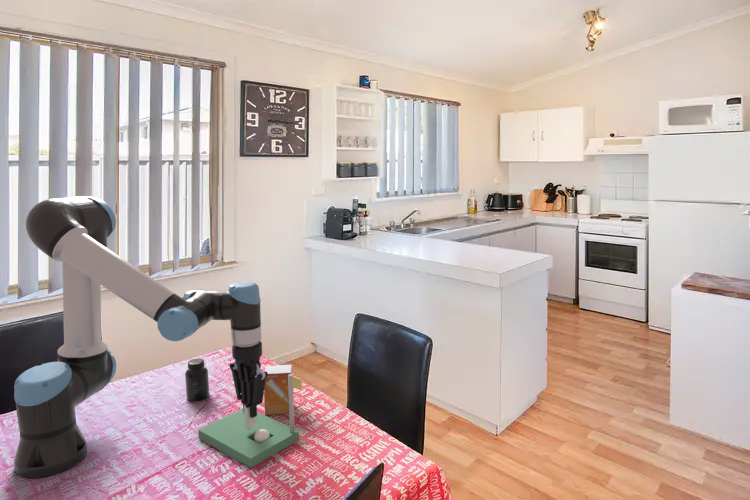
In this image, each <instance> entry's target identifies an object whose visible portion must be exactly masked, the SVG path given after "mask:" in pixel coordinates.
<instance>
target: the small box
mask: <svg viewBox="0 0 750 500" xmlns="http://www.w3.org/2000/svg"><path fill="white" fill-rule="evenodd" d="M265 371H266V372H267V373H268V376H267V377H266V379H265V387H264V394H263V401H264V415H265V416H269V415H272V416H273V415H285V414H286V415H289V385H288V375H289V374H292V375H293V364H276V365H265V366H264V371H263V372H265Z"/></svg>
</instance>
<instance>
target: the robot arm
mask: <svg viewBox="0 0 750 500" xmlns="http://www.w3.org/2000/svg"><path fill="white" fill-rule="evenodd" d="M116 221H117V220H116V215H115V213H114V211H113V208H112V207H111V206H109V204H107V202H105V201H104V199H103V200H102V199H100V198H98V197H94V196H84V195H83V196H82V195H81V196H79V195H78V196H71V197H69V196H68V197H61V198H48V199H45V200H42V201H40V202H38V203H36V204H35V205H34V206H33V207H32V208H31V210H29V212H28V214H27V217H26V220H25V229H26V230H25V231H26V232H27V235H28V237H29V239H30V241H31V242H32V244H34V245H35V247H36V248H38V249H39V250H40V251H41V252H42V253H44V254H45V255H47V256H48V257H50V258H51V259H53V260H54V261H56V262H59V263H60V262H62V269H61V270H62V302H63V303H62V305H63V306H62V308H63V313H62V314H63V344H62V345H61V346H60V347H59V348H58V349H57V361H51V362H45V363H41V365H35V366H33V367H31V368H28V369H27V370H25V371H23V372H22V373H21V374H19V375H18V377H17V378H16V379H15V382H14V385H13V387H14V392H13V393H14V394H13V399H14V402H15V409H16V417H17V423H18V431H19V443H18V446H17V449H16V454H15V458H14V461H13V465H14V472H15V474H16V475H17V476H19V477H22V478H24V479H25V478H27V479H35V478H37V479H38V478H44V477H49V476H52V475H56V474H60V473H62V472H64V471H67V470H69V469H71V468H73V467H74V466H76V465H77V464H78V463H80V462H81V461H83V459H84V458H85V457H86V456H87V454H88V444H87V443H88V442H87V441H86V438H85V437H84V435H83V433H82V432H81V429H80V428H79V425H78V424H77V418H76V407H77V406H78V405H80V404H82V403H83V402H84V401H86V400H87V399H90V397H92V396H94V395H95V394H96V393H98V392H100V391H101V390H103V389H104V388H105V387H107V385H108V384H109V383H110V382H112V380H113V379H114V377H115V375H116V372H117V361H116V357H115V356H114V355H113V354H112V351H111V350H109V348H108V345H107V344H108V343H106V342H104V341H103V340H102V301H101V300H102V298H101V296H102V291H101V290H102V287H103V288H105V289H106V290H108V291H109V292H111V293H112V294H114V295H116V296H117V297H118V298H119V299H121V300H124V302H126V303H127V304H129V305H130V306H132V307H134V308H135V309H137V310H138V311H140V312H141V313H143V314H144V315H145V316H146V317H149V318H150V319H152V320H153V321H154V322H156V323H157V325H156V326H157V330H158V332H159V333H160V334H161V337H163V338H164V340H167V341H170V342H179V341H183V340H185V339H187V338H189V337H191V336H192V335H194V333H196V332H197V331H198V330H200V329H201V328H202V327H204V326H205V325H207V324H208V323H209V322H211V321H230V322H229V323H230V336H231V337H230V340H231V344H232V345H231V352H232V353H231V354H232V358H233V359H234V362H231V363H230V364H229V368H230V371H231V374H232V379H233V385H234V389H235V395H236V399H237V400H238V401H240V402H241V405H242V406H243V407H242V409H243V412H244V419H245V429H248V430H250V429H251V428H253V427H255V426H257V421H256V416H257V412H258V405H261V404H263V401H264V387H265V379H266V377H267V376H268V373H267V372H266V371H265V370H264V371H265V372H264V371H263V370H262V368H261V367H262V366H261V362H260V359H261V357H262V355H263V342H262V320H261V319H262V317H261V302H262V301H261V297H260V295H261V294H260V287H259V285H258V284H257V283H256V282H253V281H239V282H238V281H237V282H234V283H231V284H230V285H229V287H228V289H227V290H212V289H211V290H208V289H207V290H205V289H197V290H196V289H195V290H188V291H186V292H185V293H184V295H182V297H181V296H179V295H178V294H176V293H175V292H173V291H171V290H170V289H168V288H167V287H165V286H164V285H163V284H161V282H158V281H157V280H155V279H154V278H153V277H151V276H149V275H148V274H146V273H145V272H144V271H142V270H141V269H139V268H137V267H136V266H134V265H133V264H131V263H130V262H129V261H127V260H126V259H124V258H123V257H121V256H120V255H118V254H117V253H115V252H114V251H112V250H111V249H110V248H108V238H109V237H110V236H111V235H112V233H114V232H115V229H116V227H117V226H116V224H117V222H116ZM101 286H102V287H101Z"/></svg>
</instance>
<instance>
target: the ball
mask: <svg viewBox="0 0 750 500" xmlns="http://www.w3.org/2000/svg"><path fill="white" fill-rule="evenodd" d="M269 438H270V434H269V432H268V431H267V430H265V429H260V430H258V431H257V432H256V433H255V435H254V440H255V442H257V443H259V444H260V443H262V442H263V441H265V440H267V439H269Z"/></svg>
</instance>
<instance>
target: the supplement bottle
mask: <svg viewBox="0 0 750 500" xmlns="http://www.w3.org/2000/svg"><path fill="white" fill-rule="evenodd" d="M205 366H206V365H205V359H204V358H192V359H190V360H189V361H187V369H186V370H185V373H184V378H185V392H186V393H185V394H186V399H187V400H188V401H190V402H201V401H204V400H206V399H208V397H209V396H210V383H209V371H208V368H207V367H205Z"/></svg>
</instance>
